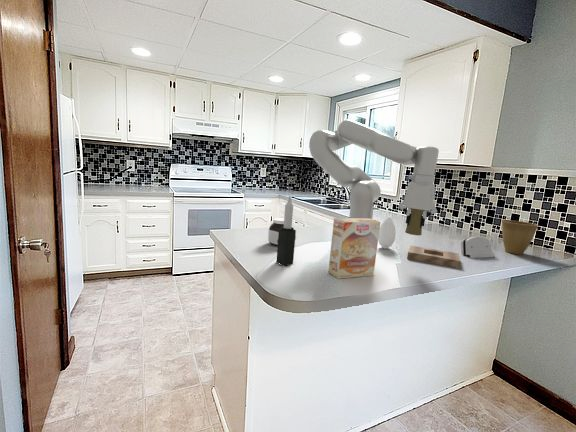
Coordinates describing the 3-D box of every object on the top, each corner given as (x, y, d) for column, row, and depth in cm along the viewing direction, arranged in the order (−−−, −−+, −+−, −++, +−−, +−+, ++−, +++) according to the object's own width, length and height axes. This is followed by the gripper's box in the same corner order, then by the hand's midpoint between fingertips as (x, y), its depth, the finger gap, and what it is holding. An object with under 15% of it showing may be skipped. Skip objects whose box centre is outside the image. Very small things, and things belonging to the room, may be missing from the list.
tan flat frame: (407, 258, 136) (408, 251, 136) (409, 251, 149) (410, 245, 148) (459, 268, 128) (460, 261, 127) (457, 259, 140) (458, 253, 140)
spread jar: (266, 245, 139) (267, 219, 138) (271, 239, 150) (273, 215, 149) (292, 248, 138) (295, 222, 136) (296, 242, 149) (298, 218, 147)
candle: (284, 260, 121) (290, 195, 117) (294, 263, 117) (300, 197, 113) (275, 262, 117) (279, 195, 113) (284, 266, 114) (289, 197, 110)
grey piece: (470, 258, 146) (467, 236, 147) (461, 258, 150) (458, 237, 151) (495, 256, 152) (492, 235, 153) (486, 257, 156) (483, 236, 158)
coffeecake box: (338, 279, 105) (344, 221, 102) (327, 271, 111) (332, 217, 108) (374, 275, 111) (381, 221, 108) (362, 269, 117) (368, 217, 114)
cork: (418, 232, 126) (423, 205, 124) (423, 236, 120) (428, 207, 118) (403, 230, 127) (407, 203, 125) (407, 234, 121) (412, 205, 119)
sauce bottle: (375, 245, 156) (380, 209, 153) (391, 247, 155) (396, 210, 152) (377, 249, 148) (382, 211, 145) (395, 251, 147) (400, 213, 144)
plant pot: (538, 256, 158) (545, 225, 155) (515, 256, 154) (522, 224, 152) (511, 248, 172) (517, 219, 170) (489, 248, 168) (495, 219, 166)
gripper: (398, 177, 120) (390, 224, 123) (447, 182, 113) (437, 232, 116) (400, 177, 126) (393, 221, 130) (446, 182, 120) (437, 229, 123)
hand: (414, 226), depth 123 cm, fingers closed on cork, 4 cm apart
